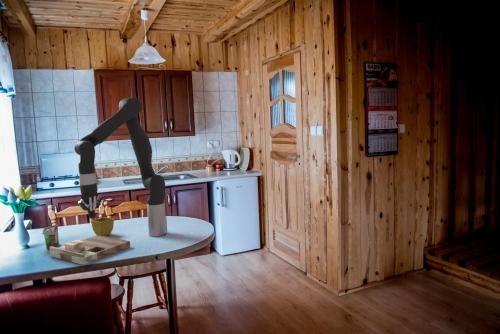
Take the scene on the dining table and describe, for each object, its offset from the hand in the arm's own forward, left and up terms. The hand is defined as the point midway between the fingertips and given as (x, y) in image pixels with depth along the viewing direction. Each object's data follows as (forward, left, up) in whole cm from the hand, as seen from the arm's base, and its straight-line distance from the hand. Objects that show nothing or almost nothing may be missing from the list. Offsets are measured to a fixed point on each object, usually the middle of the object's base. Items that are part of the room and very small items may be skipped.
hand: (92, 218), depth 177 cm
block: (+10, 0, -13) cm, 17 cm away
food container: (+7, -25, -16) cm, 31 cm away
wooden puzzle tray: (+2, 0, -16) cm, 16 cm away
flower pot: (-19, -18, -16) cm, 31 cm away
